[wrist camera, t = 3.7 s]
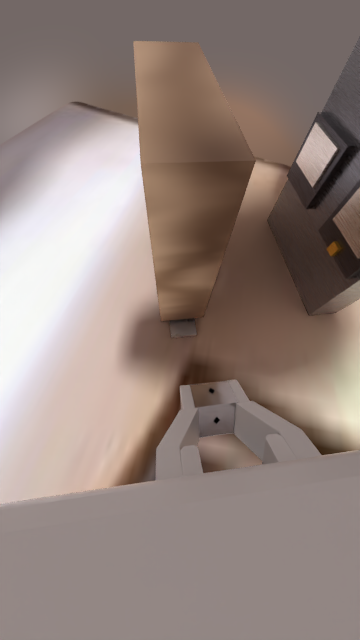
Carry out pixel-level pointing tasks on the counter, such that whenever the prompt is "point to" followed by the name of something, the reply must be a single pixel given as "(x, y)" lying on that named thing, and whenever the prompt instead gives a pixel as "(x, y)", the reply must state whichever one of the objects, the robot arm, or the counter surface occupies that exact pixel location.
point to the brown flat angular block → (187, 171)
